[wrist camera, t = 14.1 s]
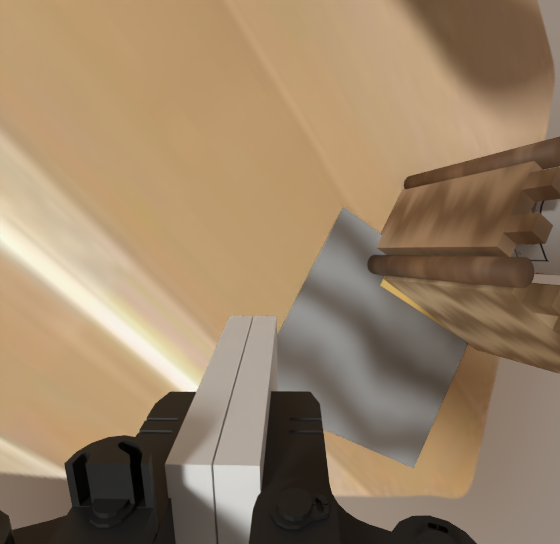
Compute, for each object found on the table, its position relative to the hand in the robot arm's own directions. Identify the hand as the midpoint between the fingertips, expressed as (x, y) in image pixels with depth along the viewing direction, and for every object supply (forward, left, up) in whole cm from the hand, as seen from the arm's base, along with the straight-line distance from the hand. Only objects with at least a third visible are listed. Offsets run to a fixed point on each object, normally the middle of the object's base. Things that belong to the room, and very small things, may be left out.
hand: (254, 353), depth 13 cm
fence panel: (-11, +25, -20) cm, 34 cm away
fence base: (-8, +21, -21) cm, 31 cm away
